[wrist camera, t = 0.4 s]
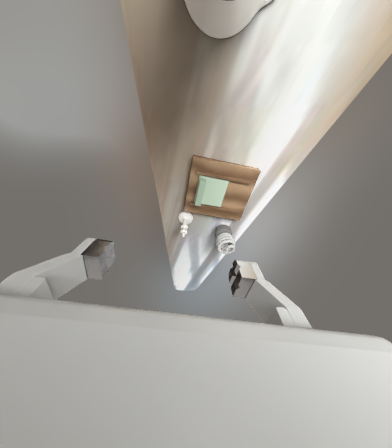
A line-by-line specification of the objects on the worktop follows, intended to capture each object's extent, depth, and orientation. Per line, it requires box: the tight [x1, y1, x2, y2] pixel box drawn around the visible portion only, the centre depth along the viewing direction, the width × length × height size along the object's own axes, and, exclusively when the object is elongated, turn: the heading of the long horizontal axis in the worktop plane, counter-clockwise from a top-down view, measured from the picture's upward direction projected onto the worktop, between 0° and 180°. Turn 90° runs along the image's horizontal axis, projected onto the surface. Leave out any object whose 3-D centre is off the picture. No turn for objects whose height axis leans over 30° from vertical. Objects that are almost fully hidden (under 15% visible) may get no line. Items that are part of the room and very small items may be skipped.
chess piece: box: [178, 211, 193, 238], centre depth 49 cm, size 5×5×10 cm
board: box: [184, 155, 261, 220], centre depth 45 cm, size 16×18×3 cm
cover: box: [194, 175, 229, 207], centre depth 43 cm, size 8×8×3 cm
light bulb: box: [215, 225, 235, 254], centre depth 50 cm, size 6×6×12 cm
